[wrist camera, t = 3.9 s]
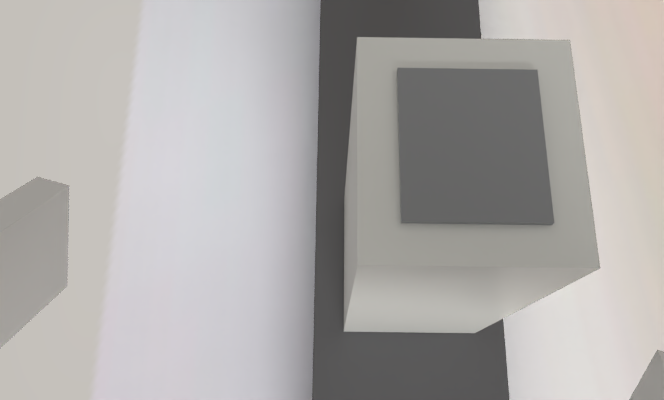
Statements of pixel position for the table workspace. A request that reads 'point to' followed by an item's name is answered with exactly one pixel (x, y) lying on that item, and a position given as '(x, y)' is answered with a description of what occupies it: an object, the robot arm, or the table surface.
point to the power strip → (333, 139)
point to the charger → (462, 183)
